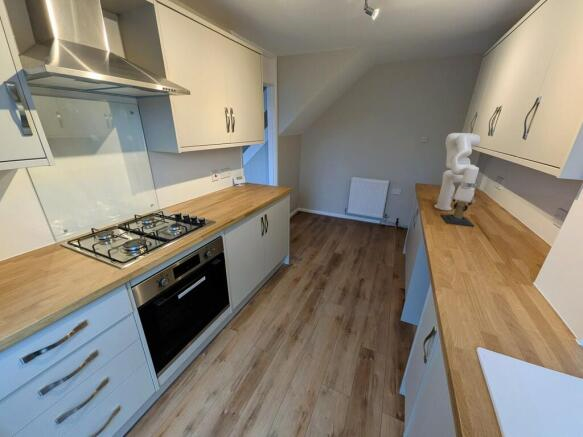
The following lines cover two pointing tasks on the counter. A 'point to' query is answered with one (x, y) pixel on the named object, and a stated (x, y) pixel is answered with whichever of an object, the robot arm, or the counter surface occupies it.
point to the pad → (456, 220)
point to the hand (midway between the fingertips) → (459, 209)
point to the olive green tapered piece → (459, 210)
